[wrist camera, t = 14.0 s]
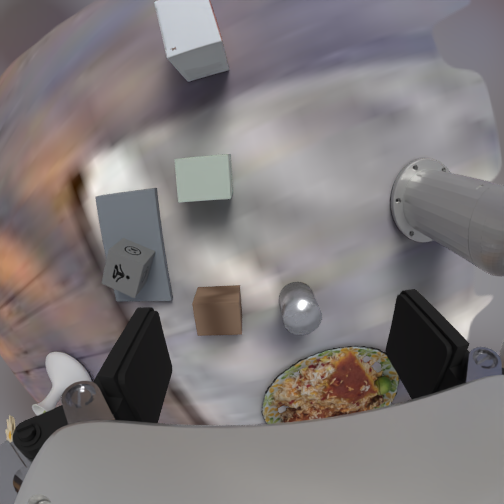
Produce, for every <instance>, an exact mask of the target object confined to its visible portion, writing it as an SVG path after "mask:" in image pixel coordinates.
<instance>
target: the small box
mask: <svg viewBox="0 0 504 504" xmlns="http://www.w3.org/2000/svg"><path fill="white" fill-rule="evenodd" d="M154 6H155V9H156V13H157V17H158V21H159V25H160V29H161V33H162V38H163V42H164V47H165V52H166V58H167V59H168V60H169V61H170V62H171V63H172V65H173V66H174V67H175V68H176V69H177V70H178V71H179V72H180V74H181V75H182V76H183V77H184V78H185V79H186V80H187V81H188V82H190V81H193V80H196V79H199V78H203V77H206V76H210V75H213V74H217V73H220V72H224V71H228V70H229V66H228V62H227V57H226V53H225V50H224V45H223V41H222V37H221V34H220V30H219V27H218V23H217V20H216V17H215V14H214V10H213V8H212V5H211V2H210V0H159V1H156V2H154Z"/></svg>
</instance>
